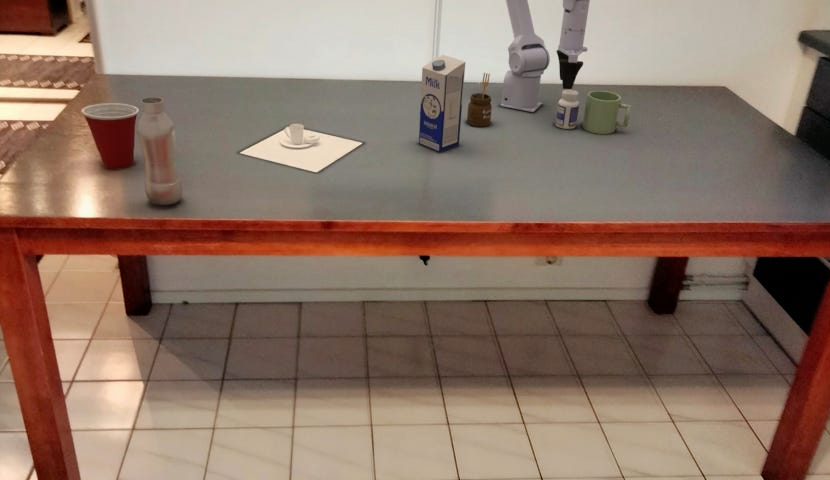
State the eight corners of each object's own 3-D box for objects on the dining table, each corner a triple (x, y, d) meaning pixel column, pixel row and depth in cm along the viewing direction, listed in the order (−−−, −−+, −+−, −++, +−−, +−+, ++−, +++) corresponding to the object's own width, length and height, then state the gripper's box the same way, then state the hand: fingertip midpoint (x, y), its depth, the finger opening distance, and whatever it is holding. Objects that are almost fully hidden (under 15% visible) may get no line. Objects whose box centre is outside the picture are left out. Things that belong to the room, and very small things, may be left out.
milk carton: (459, 145, 179) (466, 60, 168) (440, 152, 174) (445, 66, 164) (437, 137, 183) (442, 53, 172) (418, 143, 178) (422, 58, 168)
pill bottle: (575, 123, 196) (580, 89, 192) (576, 130, 192) (581, 96, 187) (554, 121, 197) (559, 87, 192) (555, 128, 192) (560, 94, 188)
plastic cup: (157, 159, 162) (149, 104, 156) (124, 177, 154) (114, 120, 147) (115, 150, 165) (105, 96, 159) (80, 168, 156) (68, 111, 150)
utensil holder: (463, 124, 191) (467, 77, 185) (471, 117, 196) (475, 71, 190) (485, 128, 189) (490, 81, 183) (493, 121, 194) (498, 74, 188)
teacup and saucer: (324, 141, 176) (324, 124, 174) (305, 152, 170) (305, 135, 167) (292, 134, 179) (291, 117, 177) (272, 144, 173) (271, 127, 170)
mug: (579, 130, 192) (584, 97, 188) (586, 120, 199) (591, 88, 194) (622, 138, 189) (629, 105, 184) (628, 128, 195) (635, 96, 191)
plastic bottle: (151, 194, 148) (136, 94, 137) (187, 194, 149) (174, 95, 138) (143, 209, 142) (127, 105, 132) (180, 209, 143) (167, 106, 133)
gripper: (593, 36, 177) (585, 93, 184) (586, 22, 189) (578, 77, 196) (563, 34, 177) (556, 92, 184) (558, 21, 189) (551, 75, 196)
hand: (565, 84), depth 190 cm, fingers open, 7 cm apart
